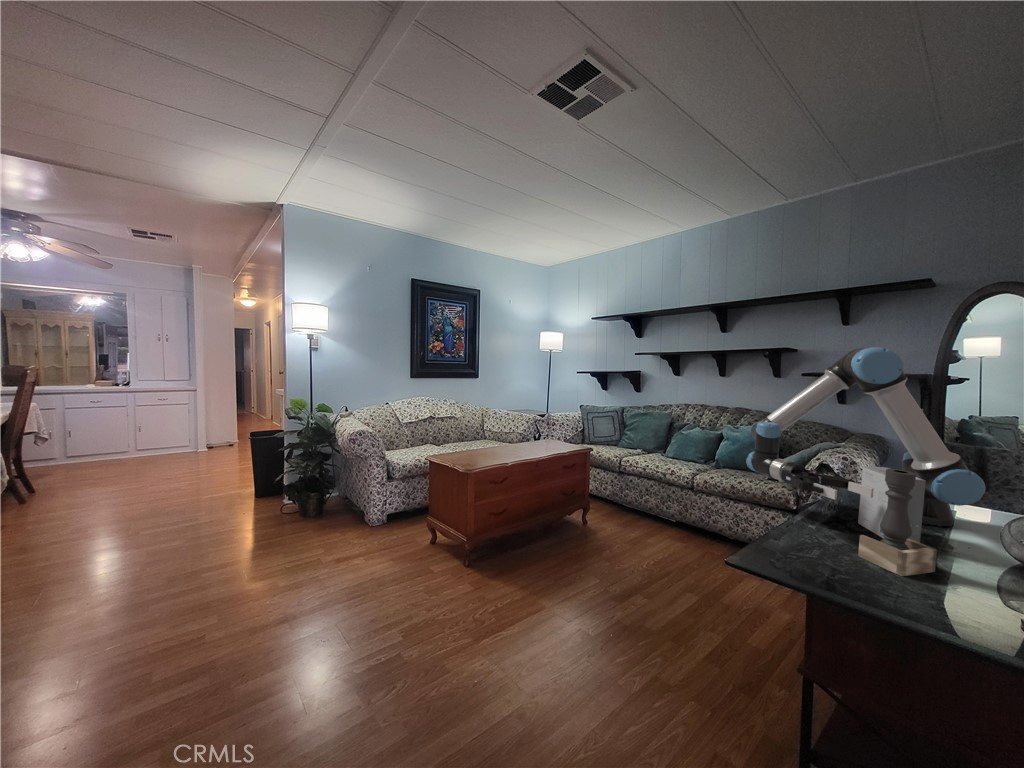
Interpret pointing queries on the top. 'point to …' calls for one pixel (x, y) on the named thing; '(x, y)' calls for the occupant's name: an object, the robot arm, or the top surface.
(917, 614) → the top surface
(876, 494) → the hard drive box
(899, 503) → the candle holder
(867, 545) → the birch crate
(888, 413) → the robot arm
